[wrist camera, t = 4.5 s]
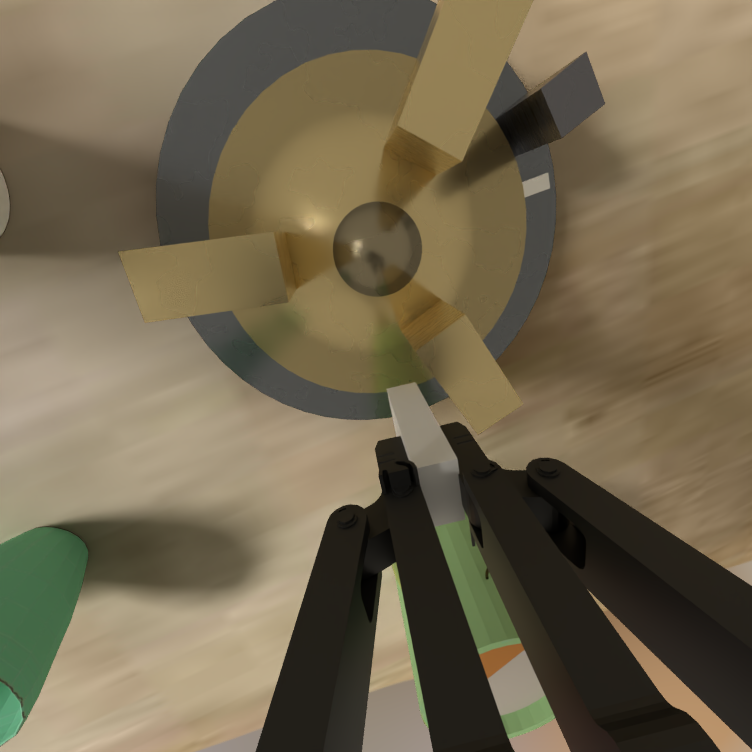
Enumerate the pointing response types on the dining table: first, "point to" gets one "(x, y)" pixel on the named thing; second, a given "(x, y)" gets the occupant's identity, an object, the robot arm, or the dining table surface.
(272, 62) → the ring
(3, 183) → the cylindrical container
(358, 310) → the three-jaw lathe chuck
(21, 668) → the mug
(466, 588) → the mug
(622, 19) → the dining table surface
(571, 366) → the dining table surface
